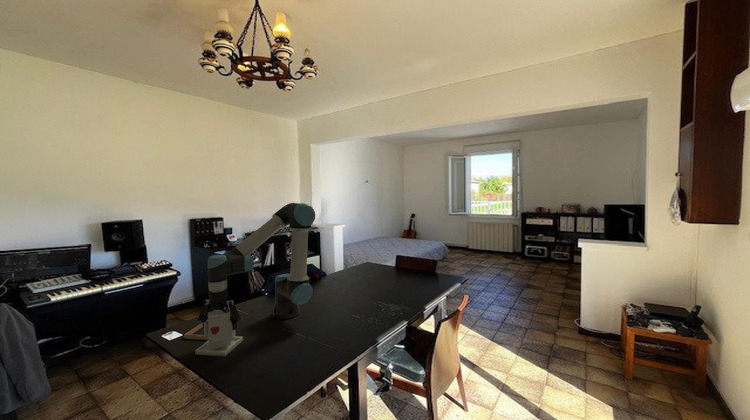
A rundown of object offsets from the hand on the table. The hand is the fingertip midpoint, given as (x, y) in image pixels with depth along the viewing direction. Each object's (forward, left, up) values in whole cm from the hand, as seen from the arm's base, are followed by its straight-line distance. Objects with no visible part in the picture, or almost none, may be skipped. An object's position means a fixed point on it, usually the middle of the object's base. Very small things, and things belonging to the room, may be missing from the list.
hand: (219, 335), depth 137 cm
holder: (+15, -13, -5) cm, 21 cm away
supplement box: (0, 0, -4) cm, 4 cm away
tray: (0, 0, -5) cm, 5 cm away
